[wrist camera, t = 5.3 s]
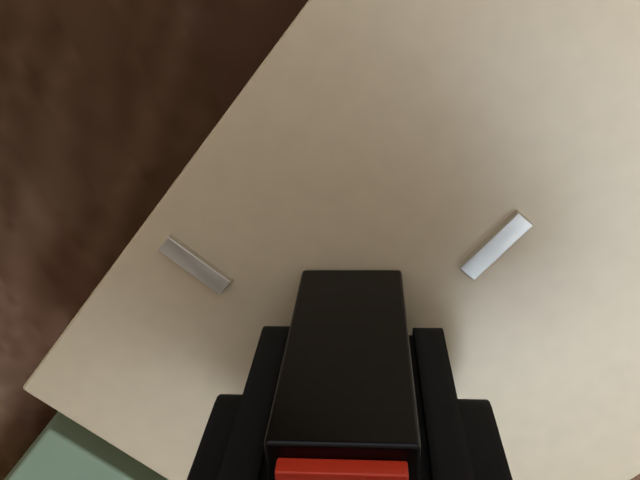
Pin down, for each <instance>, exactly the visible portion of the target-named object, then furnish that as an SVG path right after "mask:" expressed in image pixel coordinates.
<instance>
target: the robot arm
mask: <svg viewBox="0 0 640 480" xmlns="http://www.w3.org/2000/svg"><path fill="white" fill-rule="evenodd" d="M289 329H290V326H264V327H263V329H262V331H261V335H260V338H259V341H258V345H257V348H256V351H255V355H254V358H253V361H252V365H251V368H250V371H249V375H248V378H247V381H246V385H245V388H244V391H243V394H220V395H218V396H217V398H216V400H215V403H214V405H213V408H212V411H211V414H210V416H209V419H208V422H207V425H206V428H205V430H204V433H203V436H202V439H201V441H200V444H199V447H198V450H197V453H196V455H195V458H194V461H193V464H192V466H191V469H190V472H189V475H188V478H187V480H268V478H267V468H266V459H265V449H264V440H265V436H266V432H267V427H268V423H269V418H270V414H271V409H272V405H273V400H274V396H275V391H276V387H277V382H278V378H279V373H280V369H281V365H282V360H283V356H284V351H285V347H286V342H287V338H288V333H289ZM409 343H410V352H411V361H412V370H413V379H414V388H415V397H416V406H417V415H418V423H419V432H420V441H421V463H420V480H513V479H512V476H511V472H510V469H509V465H508V462H507V458H506V455H505V451H504V448H503V444H502V441H501V437H500V434H499V430H498V427H497V423H496V420H495V416H494V413H493V409H492V406H491V404H490V402H489V401H488V400H487V399H458V398H457V393H456V388H455V383H454V379H453V374H452V369H451V364H450V360H449V355H448V350H447V345H446V341H445V336H444V331H443V328H413V332H412V335H409Z"/></svg>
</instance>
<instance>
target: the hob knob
mask: <svg viewBox="0 0 640 480" xmlns="http://www.w3.org/2000/svg"><path fill="white" fill-rule="evenodd" d="M264 449H265V459H266V468H267V478H268V480H420V463H421V441H420V432H419V423H418V415H417V406H416V397H415V388H414V379H413V370H412V361H411V352H410V343H409V335H408V326H407V317H406V308H405V299H404V290H403V281H402V273H401V271H399V270H305V271H303V272H302V275H301V280H300V284H299V289H298V293H297V298H296V302H295V306H294V311H293V315H292V320H291V324H290V329H289V333H288V338H287V342H286V347H285V351H284V356H283V360H282V365H281V369H280V373H279V378H278V382H277V387H276V391H275V396H274V400H273V405H272V409H271V414H270V418H269V423H268V427H267V432H266V436H265V440H264Z"/></svg>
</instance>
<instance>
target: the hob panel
mask: <svg viewBox="0 0 640 480" xmlns="http://www.w3.org/2000/svg"><path fill="white" fill-rule="evenodd" d="M305 270H399V271H401V273H402V281H403V290H404V299H405V308H406V317H407V326H408V335H412V332H413V328H443V331H444V336H445V341H446V345H447V350H448V355H449V360H450V364H451V369H452V374H453V379H454V383H455V388H456V393H457V398H458V399H487V400H488V401H489V402H490V404H491V406H492V409H493V413H494V416H495V420H496V423H497V427H498V430H499V434H500V437H501V441H502V444H503V448H504V451H505V455H506V458H507V462H508V465H509V469H510V472H511V476H512V479H513V480H630V479H632V478H633V477H635V476H636V475H638V474H639V473H640V0H308V1H307V3H306V4H305V5H304V7H303V8H302V9H301V11H300V12H299V14H298V15H297V16H296V18H295V19H294V20H293V22H292V23H291V24H290V26H289V27H288V28H287V30H286V31H285V32H284V34H283V35H282V37H281V38H280V39H279V41H278V42H277V43H276V45H275V46H274V47H273V49H272V50H271V51H270V53H269V54H268V55H267V57H266V58H265V60H264V61H263V62H262V64H261V65H260V66H259V68H258V69H257V70H256V72H255V73H254V74H253V76H252V77H251V78H250V80H249V81H248V83H247V84H246V85H245V87H244V88H243V89H242V91H241V92H240V93H239V95H238V96H237V97H236V99H235V100H234V101H233V103H232V104H231V106H230V107H229V108H228V110H227V111H226V112H225V114H224V115H223V116H222V118H221V119H220V120H219V122H218V123H217V124H216V126H215V127H214V129H213V130H212V131H211V133H210V134H209V135H208V137H207V138H206V139H205V141H204V142H203V143H202V145H201V146H200V147H199V149H198V150H197V152H196V153H195V154H194V156H193V157H192V158H191V160H190V161H189V162H188V164H187V165H186V166H185V168H184V169H183V170H182V172H181V173H180V175H179V176H178V177H177V179H176V180H175V181H174V183H173V184H172V185H171V187H170V188H169V189H168V191H167V192H166V193H165V195H164V196H163V198H162V199H161V200H160V202H159V203H158V204H157V206H156V207H155V208H154V210H153V211H152V212H151V214H150V215H149V216H148V218H147V219H146V221H145V222H144V223H143V225H142V226H141V227H140V229H139V230H138V231H137V233H136V234H135V235H134V237H133V238H132V239H131V241H130V242H129V244H128V245H127V246H126V248H125V249H124V250H123V252H122V253H121V254H120V256H119V257H118V258H117V260H116V261H115V262H114V264H113V265H112V266H111V268H110V269H109V271H108V272H107V273H106V275H105V276H104V277H103V279H102V280H101V281H100V283H99V284H98V285H97V287H96V288H95V289H94V291H93V292H92V294H91V295H90V296H89V298H88V299H87V300H86V302H85V303H84V304H83V306H82V307H81V308H80V310H79V311H78V312H77V314H76V315H75V317H74V318H73V319H72V321H71V322H70V323H69V325H68V326H67V327H66V329H65V330H64V331H63V333H62V334H61V335H60V337H59V338H58V340H57V341H56V342H55V344H54V345H53V346H52V348H51V349H50V350H49V352H48V353H47V354H46V356H45V357H44V358H43V360H42V361H41V363H40V364H39V365H38V367H37V368H36V369H35V371H34V372H33V373H32V375H31V376H30V377H29V379H28V380H27V381H26V383H25V384H24V386H23V389H24V390H25V391H27V392H28V393H30V394H31V395H33V396H35V397H36V398H38V399H40V400H41V401H43V402H44V403H46V404H48V405H49V406H51V407H52V408H54V409H56V410H57V411H59V412H60V413H62V414H64V415H65V416H67V417H69V418H70V419H72V420H73V421H75V422H77V423H78V424H80V425H81V426H83V427H85V428H86V429H88V430H89V431H91V432H93V433H94V434H96V435H97V436H99V437H101V438H102V439H104V440H106V441H107V442H109V443H110V444H112V445H114V446H115V447H117V448H118V449H120V450H122V451H123V452H125V453H126V454H128V455H130V456H131V457H133V458H134V459H136V460H138V461H139V462H141V463H143V464H144V465H146V466H147V467H149V468H151V469H152V470H154V471H155V472H157V473H159V474H160V475H162V476H163V477H165V478H167V479H168V480H187V478H188V475H189V472H190V469H191V466H192V464H193V461H194V458H195V455H196V453H197V450H198V447H199V444H200V441H201V439H202V436H203V433H204V430H205V428H206V425H207V422H208V419H209V416H210V414H211V411H212V408H213V405H214V403H215V400H216V398H217V396H218V395H220V394H243V391H244V388H245V385H246V381H247V378H248V375H249V371H250V368H251V365H252V361H253V358H254V355H255V351H256V348H257V345H258V341H259V338H260V335H261V331H262V329H263V327H264V326H290V324H291V320H292V315H293V311H294V306H295V302H296V298H297V293H298V289H299V284H300V280H301V275H302V272H303V271H305Z"/></svg>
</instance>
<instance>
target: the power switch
mask: <svg viewBox="0 0 640 480" xmlns="http://www.w3.org/2000/svg"><path fill="white" fill-rule="evenodd" d="M4 480H168V479H167V478H165V477H163V476H162V475H160V474H159V473H157V472H155V471H154V470H152V469H151V468H149V467H147V466H146V465H144V464H143V463H141V462H139V461H138V460H136V459H134V458H133V457H131V456H130V455H128V454H126V453H125V452H123V451H122V450H120V449H118V448H117V447H115V446H114V445H112V444H110V443H109V442H107V441H106V440H104V439H102V438H101V437H99V436H97V435H96V434H94V433H93V432H91V431H89V430H88V429H86V428H85V427H83V426H81V425H80V424H78V423H77V422H75V421H73V420H72V419H70V418H69V417H67V416H65V415H64V414H62V413H60V412H59V411H58V412H57V413H56V414H55V416H54V417H53V418H52V419H51V421H50V422H49V423H48V424H47V426H46V427H45V428H44V430H43V431H42V432H41V433H40V435H39V436H38V437H37V438H36V440H35V441H34V442H33V443H32V445H31V446H30V447H29V448H28V450H27V451H26V452H25V453H24V455H23V456H22V457H21V458H20V460H19V461H18V462H17V463H16V465H15V466H14V467H13V469H12V470H11V471H10V472H9V474H8V475H7V476H6V477H5V479H4Z"/></svg>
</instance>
